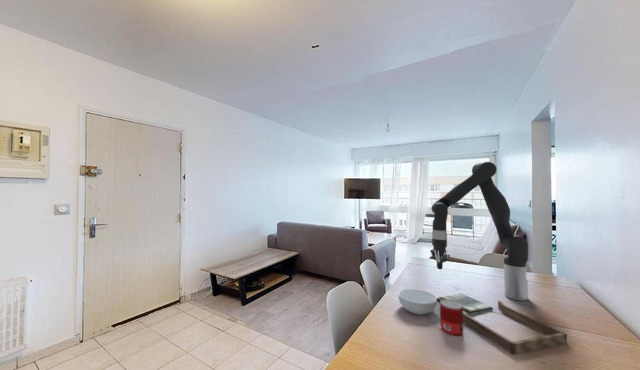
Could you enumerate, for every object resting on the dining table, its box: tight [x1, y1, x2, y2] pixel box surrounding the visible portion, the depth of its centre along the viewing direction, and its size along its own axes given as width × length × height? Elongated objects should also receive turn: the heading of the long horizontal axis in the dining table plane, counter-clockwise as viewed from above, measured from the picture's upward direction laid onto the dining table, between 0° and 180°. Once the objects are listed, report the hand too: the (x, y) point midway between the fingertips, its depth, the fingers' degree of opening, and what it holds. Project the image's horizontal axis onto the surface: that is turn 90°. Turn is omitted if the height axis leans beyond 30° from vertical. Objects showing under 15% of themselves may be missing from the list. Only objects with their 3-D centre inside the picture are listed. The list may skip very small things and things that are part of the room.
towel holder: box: [463, 300, 568, 355], centre depth 100 cm, size 30×28×4 cm
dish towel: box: [436, 293, 494, 316], centre depth 120 cm, size 19×18×3 cm
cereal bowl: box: [398, 288, 438, 316], centre depth 114 cm, size 17×17×7 cm
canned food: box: [439, 299, 464, 337], centre depth 98 cm, size 8×8×11 cm
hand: (439, 268), depth 135 cm, fingers closed
